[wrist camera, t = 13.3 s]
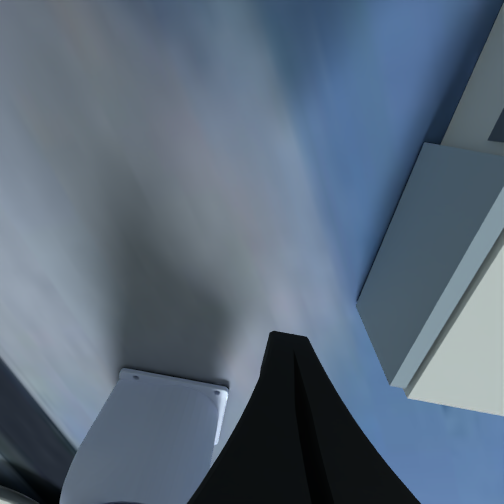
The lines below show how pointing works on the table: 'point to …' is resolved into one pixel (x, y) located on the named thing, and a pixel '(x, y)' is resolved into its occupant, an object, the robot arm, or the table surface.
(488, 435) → the table surface
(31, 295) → the table surface
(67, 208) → the table surface
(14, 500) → the dinner plate
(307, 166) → the table surface
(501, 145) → the player box
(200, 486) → the robot arm
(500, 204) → the sliding drawer
